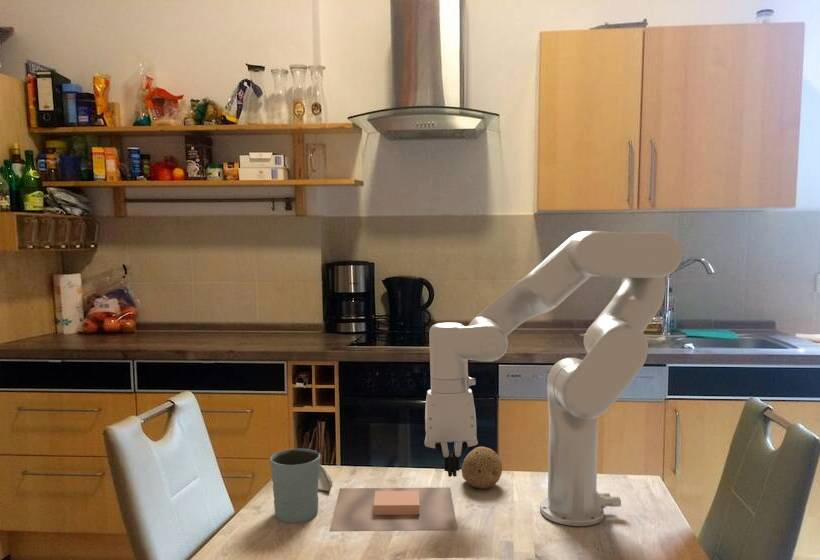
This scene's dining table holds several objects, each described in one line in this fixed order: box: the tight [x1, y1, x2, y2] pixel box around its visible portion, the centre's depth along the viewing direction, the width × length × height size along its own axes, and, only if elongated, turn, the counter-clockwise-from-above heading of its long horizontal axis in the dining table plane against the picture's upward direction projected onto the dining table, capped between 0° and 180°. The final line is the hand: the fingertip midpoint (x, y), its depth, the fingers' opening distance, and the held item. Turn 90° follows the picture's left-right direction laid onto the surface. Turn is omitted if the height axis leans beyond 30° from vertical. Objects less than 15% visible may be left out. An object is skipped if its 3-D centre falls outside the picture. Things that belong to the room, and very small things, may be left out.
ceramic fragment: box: [318, 464, 333, 493], centre depth 145 cm, size 14×5×4 cm, turn 20°
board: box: [329, 486, 459, 532], centre depth 130 cm, size 24×20×2 cm
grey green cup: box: [269, 448, 321, 524], centre depth 130 cm, size 10×10×12 cm
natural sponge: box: [461, 446, 503, 490], centre depth 140 cm, size 9×9×10 cm
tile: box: [374, 491, 419, 515], centre depth 129 cm, size 2×7×9 cm
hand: (452, 473), depth 129 cm, fingers closed
